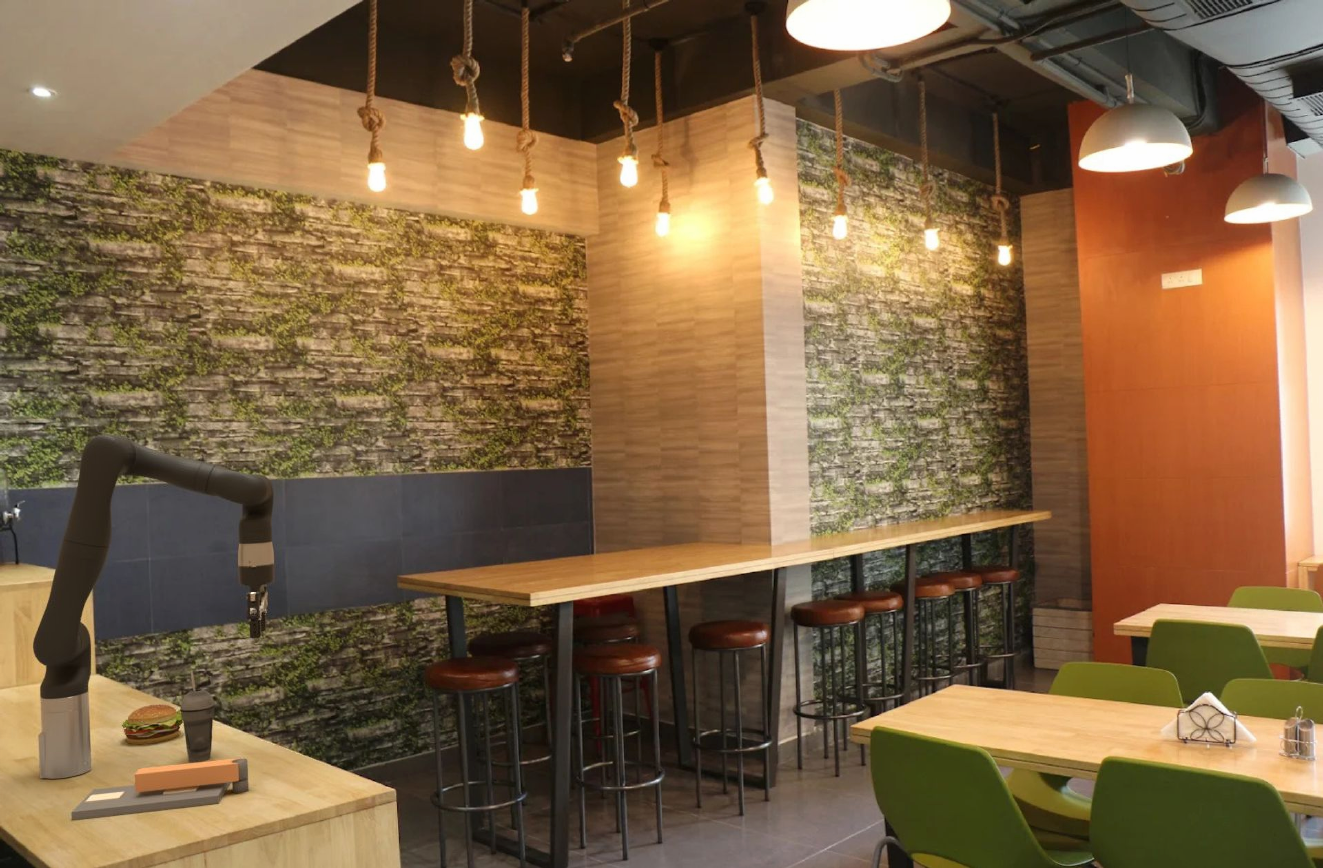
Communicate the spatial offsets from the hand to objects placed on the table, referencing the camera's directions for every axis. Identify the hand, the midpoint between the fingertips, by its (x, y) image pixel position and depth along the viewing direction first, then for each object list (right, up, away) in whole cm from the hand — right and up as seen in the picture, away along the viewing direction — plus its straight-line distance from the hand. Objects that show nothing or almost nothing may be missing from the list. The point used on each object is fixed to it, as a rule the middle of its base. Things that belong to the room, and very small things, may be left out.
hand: (258, 634), depth 237 cm
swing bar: (-3, -25, -27) cm, 36 cm away
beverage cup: (-13, -28, 0) cm, 31 cm away
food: (-33, -29, +20) cm, 48 cm away
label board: (-7, -27, -28) cm, 40 cm away
